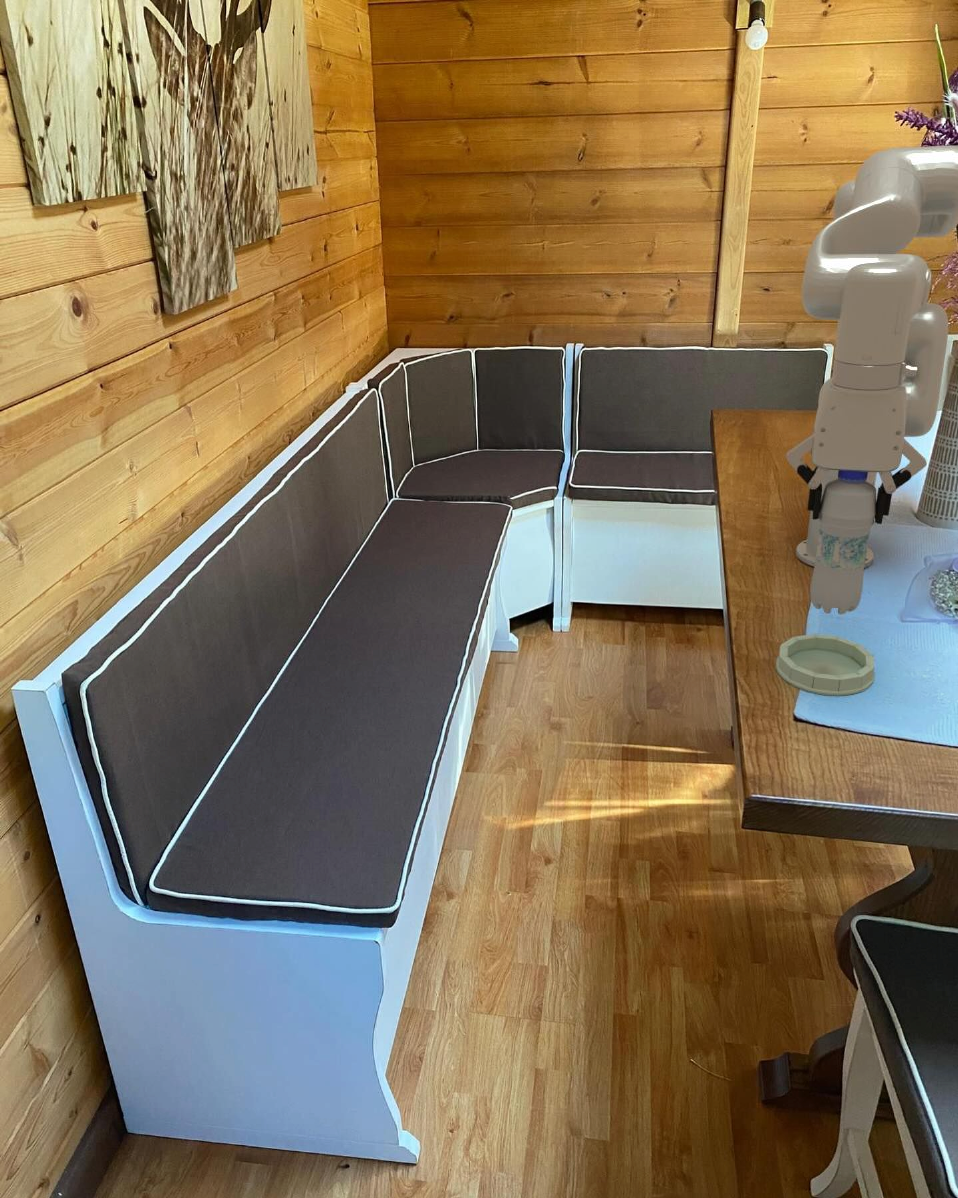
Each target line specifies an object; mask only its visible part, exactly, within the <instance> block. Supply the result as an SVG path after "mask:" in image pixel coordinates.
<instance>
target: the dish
mask: <svg viewBox="0 0 958 1198" xmlns="http://www.w3.org/2000/svg"><path fill="white" fill-rule="evenodd" d="M875 667H876V666H875V659H874V655H873V654H872V653H871V652H870V651H869V650H867V649H866V648H865V647H864V646H862V645H861V644H860V643H858V642H855V641H852V640H848V639H846V638H843V637H840V636H836V635H827V634H819V633H818V634H817V633H816V634H815V633H811V634H806V635H799V636H792V637H791V638H789V639H788V640H786V641H785V642H783V643H782V644H780V646H779V655H778V657H777V658H776V662H775V670H776V672H777V674H778V675H779V677H780V678H781V679H782V680H784V681H785V682H786V683H788V684H790V685H791V686H793V687H795V688H797V689H799V690H802V691H805V692H808V693H811V694H816V695H820V696H827V697H828V696H829V697H845V696H853V695H856V694H860V693H863V692H865V691H866V690H868V689H869V688H870V687H871V686H872V684H873V683H874V680H875Z"/></svg>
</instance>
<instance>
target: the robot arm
mask: <svg viewBox="0 0 958 1198" xmlns="http://www.w3.org/2000/svg"><path fill="white" fill-rule="evenodd" d="M832 213H833V221H831V222H830V223H828V224H826V225H825V226H824V227H823V228H822V229H821V230H820V231H819V232H818V233H817V235H816V236H815V237H814V239H813V241H812V244H811V246H810V247H809V251H808V253H807V258H806V262H805V268H804V272H803V277H802V283H801V302H802V306H803V309H804V312H806V314H807V315H809V316H810V317H812V318H814V319H818V320H837V327H836V334H835V335H836V337H835V338H836V339H835V353H834V361H833V368H832V369H833V370H832V375H831V376H832V377H830V378H828V379H827V380H826V381H824V383H823V385H822V386H821V388H820V391H819V395H818V406H817V409H816V416H815V422H814V425H813V426H814V427H813V432H812V433H813V434H810V436H808V437H807V438H805V439H804V440H803V441H801V442H800V443H798V444H797V445H795V446H794V447H792V448H791V449H790V450H788V451H787V453H786V456H785V457H786V460H787V462H788V463H789V465H791V467H792V468H793V469H794V470H795V472H796V473H797V475H798V476H800V478H801V479H802V480H803V481H804V482H805V483H806V484H807V486H808V488H809V492H808V500H807V509H806V510H807V511H810V512H809V513H810V514H809V521H808V528H807V529H808V530H807V536H806V537H807V538H806V539H805V540H802V541H801V542H800V543H798V545H796V552H795V554H796V557H797V558H798V559H799V560H800V561H801V562H802V563H805V564H806V565H808V566H811V567H815V562H816V554H817V546H818V538H819V531H820V521H819V514H820V504H821V500H822V497H823V493H824V490H825V486H826V484H827V483H829V482H831V481H833V480H836V479H838V471H839V470H840V471H859V472H868V476H867V480H866V482H868V483H870V484H872V485H873V486H874V487H875V488H876V483H877V482H876V480H877V474H878V475H879V477H880V480H881V485H880V486H878V488H877V492H876V515H875V517H874V524H875V523H876V524H877V525H882V523H883V517H884V516H886V517H888V516H889V514H890V509H891V508H890V507H891V504H892V498H893V497H892V496H893V494H894V493H895V492H896V490H898V489H900V488H901V486H903V485H905V484H906V483H907V482H909V481H910V480H911V479H912V478H913V477H914V476H915V475H917V474H918V473H920V472H921V471H922V470H923V469H924V468H925V467H927V460H926V458H925V457H924V456H923V455H922V454H921V453H920V452H919V451H918V450H916V448H915V447H914V446H913V445H911V443H910V442H909V441H907V440H906V439H905V438H908V437H909V438H917V437H922V436H925V435H927V434H928V433H929V432H930V431H931V430H932V428H933V426H934V424H935V420H936V418H937V413H938V407H939V403H940V394H941V387H942V379H943V372H944V366H945V360H946V353H947V346H948V338H949V320H948V315H947V312H946V310H945V309H944V308H943V307H942V306H941V305H939V304H937V303H933V302H932V303H931V302H928V299H929V296H930V292H931V287H932V278H933V277H932V271H931V269H930V268H929V267H928V265H927V262H926V260H925V259H923V258H922V257H921V256H920V255H916V254H909V253H901V251H903V250H904V249H905V248H907V247H908V246H909V245H910V244H911V243H912V242H913V240H914V239H915V238H917V239H918V238H920V239H921V238H928V239H929V238H941V237H945V236H947V235H950V234H951V233H952V232H953V231H954V230H955V228H956V227H957V226H958V145H933V146H911V147H910V146H909V147H896V148H895V147H894V148H887V149H884V150H879V151H878V152H875V153H874V154H872V155H870V157H868V158H866V160H865V161H864V162H863V163H862V164H861V165H860V167H859V170H858V172H857V174H856V177H855V179H852V180H850V181H848V182H845V183H844V184H842V185H841V186H840V187H839V188H838V190H837V192H836V194H835V197H834V201H833V212H832ZM899 252H900V253H899ZM808 452H810V453H811V454H810V455H811V462H812V465H813V466H814V467H813V469H812V468H811V467H810V466H809V465H808V464H807V463H806V462H805V461H804V460H803V459H802V457H803V456H804V455H806V454H807V453H808ZM902 456H904V457H905V458H906V459H907V460H908V461H909V462H908V463H907V464H906V466H904V467H902V468H901V469H900V470H898V468H899V467H900V465H901V462H902V458H903V457H902ZM896 470H898V471H896ZM893 471H896V473H894V474H893V473H892V472H893ZM874 558H875V553H874V552H873V550H872V549H871V548H870V547H868V546H867V552H866V559H865V564H864V569H865V568H867V567H869V566H871V565H872V564H873V562H874Z"/></svg>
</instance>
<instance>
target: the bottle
mask: <svg viewBox="0 0 958 1198" xmlns="http://www.w3.org/2000/svg"><path fill="white" fill-rule="evenodd" d="M867 476H868V472H859V471H840V470H839V471H838V479H836V480H833V481H831V482H829V483H827V484H826V486H825V490H824V493H823V497H822V500H821V504H820V514H819V521H820V531H819V538H818V546H817V554H816V562H815V567H814V566H813V567H814V568H813V572H812V576H811V581H810V587H809V589H810V590H809V593H810V599H811V604H812V606H813V607H814V608H815V609H817V610H820V609H822V610H823V612H824V613H825V614H828V615H829V614H831V612H832V609H837V613H838V615H840V616H842V615H845V614H846V613H847V612H848V613H850V612H854V611H855V610H856V609H857V608H858V606H859V605H860V601H861V599H862V594H863V586H864V574H865V573H864V572H865V571H864V570H865V568H864V564H865V559H866V552H867V547H868V545H869V540H870V538H869V537H870V532H871V528H872V527H873V526H874V524H875V515H876V500H877V488H876V486H875V487H874V486H873V485H872V484H870V483H868V482H866V480H867Z"/></svg>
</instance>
